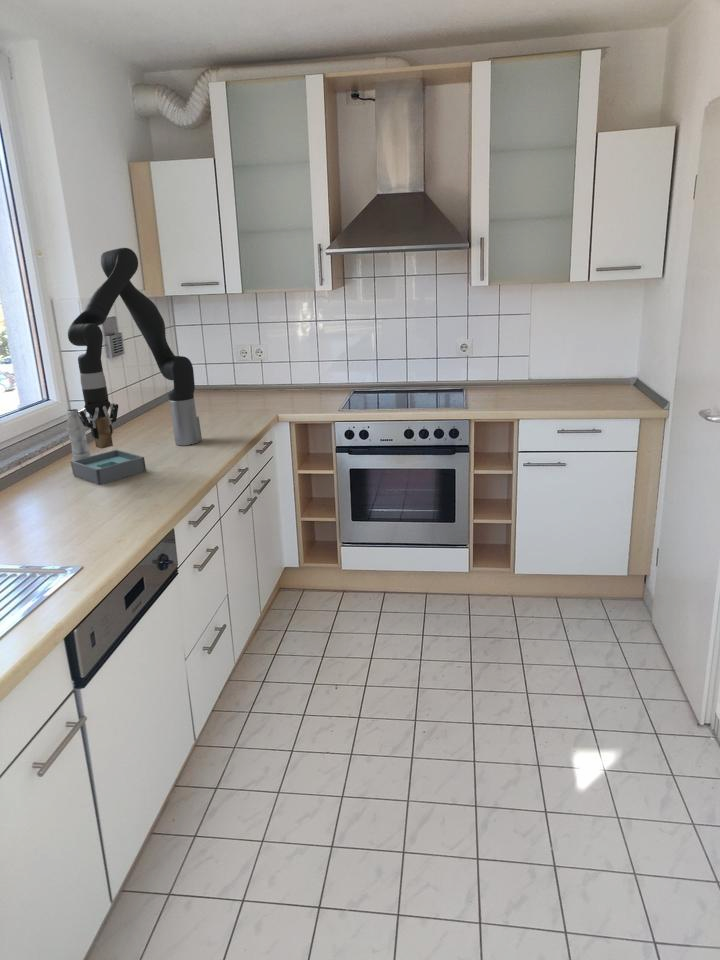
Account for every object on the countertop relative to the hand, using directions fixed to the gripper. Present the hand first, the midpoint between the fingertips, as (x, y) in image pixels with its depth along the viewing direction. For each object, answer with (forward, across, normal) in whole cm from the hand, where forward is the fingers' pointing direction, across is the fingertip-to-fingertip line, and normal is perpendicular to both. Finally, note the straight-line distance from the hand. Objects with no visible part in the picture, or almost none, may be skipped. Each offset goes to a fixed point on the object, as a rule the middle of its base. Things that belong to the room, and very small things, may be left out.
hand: (102, 437), depth 234 cm
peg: (+3, 0, 0) cm, 3 cm away
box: (+13, 0, 0) cm, 13 cm away
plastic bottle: (+13, 0, -18) cm, 22 cm away
